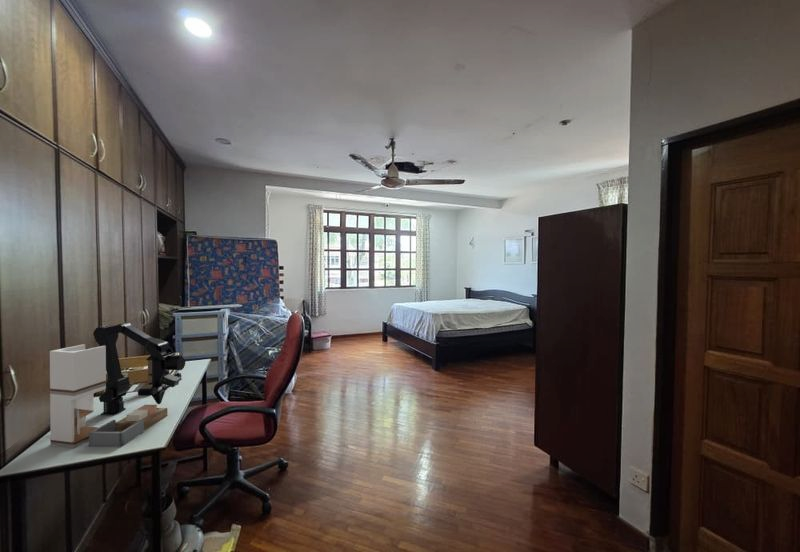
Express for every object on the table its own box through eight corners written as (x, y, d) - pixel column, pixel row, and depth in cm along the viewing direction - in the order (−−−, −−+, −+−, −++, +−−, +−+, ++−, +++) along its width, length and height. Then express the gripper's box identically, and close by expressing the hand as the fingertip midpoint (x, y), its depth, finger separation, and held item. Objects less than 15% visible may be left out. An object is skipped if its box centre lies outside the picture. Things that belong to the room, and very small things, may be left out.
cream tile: (126, 420, 139) (126, 414, 139) (135, 415, 144) (135, 409, 144) (138, 421, 139) (138, 414, 139) (147, 415, 144) (147, 409, 144)
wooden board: (114, 431, 137) (114, 423, 137) (142, 415, 152) (142, 407, 152) (142, 431, 137) (142, 423, 137) (167, 415, 152) (167, 407, 152)
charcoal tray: (88, 446, 126) (88, 433, 125) (113, 432, 137) (113, 419, 136) (121, 446, 126) (121, 433, 126) (143, 432, 137) (143, 419, 137)
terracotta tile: (136, 415, 144) (136, 409, 144) (145, 410, 149) (145, 404, 149) (148, 415, 144) (148, 409, 144) (156, 410, 149) (156, 404, 149)
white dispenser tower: (74, 448, 124) (73, 352, 123) (50, 445, 126) (49, 351, 125) (106, 433, 136) (105, 345, 135) (84, 430, 137) (83, 344, 136)
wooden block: (151, 395, 176) (151, 360, 175) (142, 395, 175) (141, 360, 175) (161, 389, 185) (161, 355, 184) (152, 389, 184) (152, 356, 184)
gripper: (163, 376, 145) (163, 412, 145) (189, 364, 164) (189, 396, 164) (136, 376, 145) (136, 412, 145) (165, 363, 163) (165, 396, 164)
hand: (159, 403), depth 155 cm, fingers closed
